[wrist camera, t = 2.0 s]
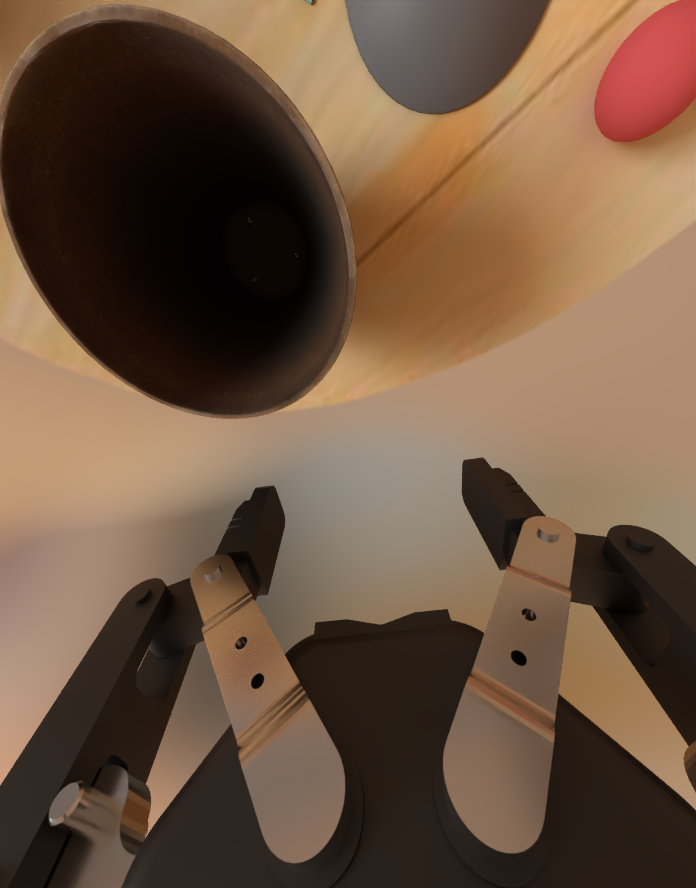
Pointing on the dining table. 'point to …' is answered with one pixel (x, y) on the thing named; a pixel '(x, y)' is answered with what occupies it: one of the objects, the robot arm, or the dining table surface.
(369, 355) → the dining table surface
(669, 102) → the ball
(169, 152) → the plant pot
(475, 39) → the disc
